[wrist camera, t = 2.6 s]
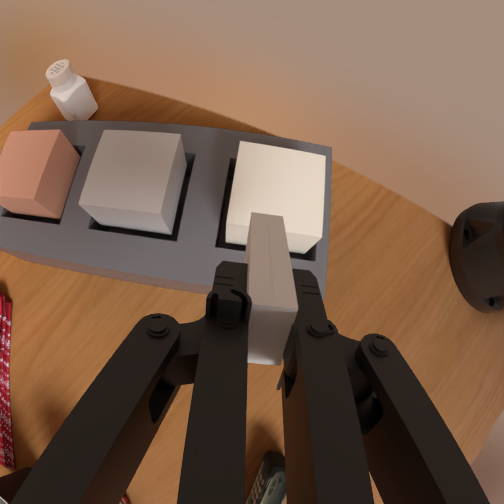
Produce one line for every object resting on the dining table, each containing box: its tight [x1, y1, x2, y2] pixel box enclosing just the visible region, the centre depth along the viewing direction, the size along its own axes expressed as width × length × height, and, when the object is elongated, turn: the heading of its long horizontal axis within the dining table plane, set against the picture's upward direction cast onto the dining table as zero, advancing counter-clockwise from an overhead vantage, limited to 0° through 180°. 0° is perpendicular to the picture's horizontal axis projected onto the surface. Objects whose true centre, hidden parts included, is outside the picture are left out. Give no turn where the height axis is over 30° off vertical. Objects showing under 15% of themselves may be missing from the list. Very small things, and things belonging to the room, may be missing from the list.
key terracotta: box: [0, 130, 81, 219], centre depth 23 cm, size 6×6×5 cm
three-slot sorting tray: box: [0, 121, 332, 301], centre depth 29 cm, size 32×14×8 cm, turn 83°
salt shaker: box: [46, 59, 98, 121], centre depth 30 cm, size 4×4×10 cm
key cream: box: [226, 141, 326, 254], centre depth 24 cm, size 6×6×5 cm
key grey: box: [78, 130, 187, 235], centre depth 23 cm, size 6×6×5 cm
